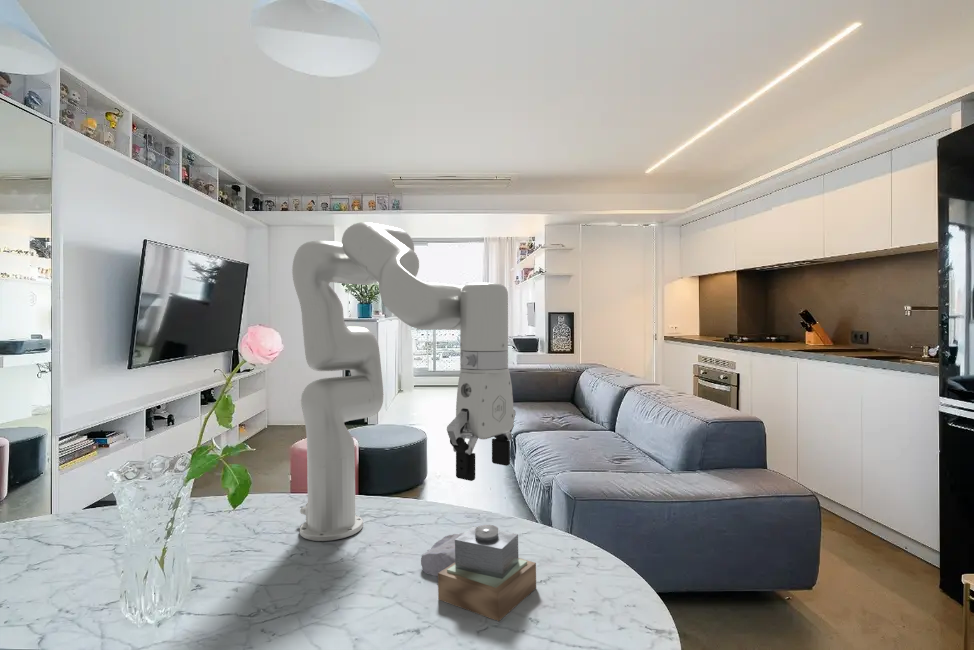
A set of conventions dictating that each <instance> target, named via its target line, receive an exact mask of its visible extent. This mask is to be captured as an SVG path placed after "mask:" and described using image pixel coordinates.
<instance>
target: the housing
mask: <svg viewBox="0 0 974 650" xmlns="http://www.w3.org/2000/svg"><path fill="white" fill-rule="evenodd" d="M462 533H463V534H462V535H461V536H459V537H458V538H457V539H455V568H456V569H461V570H465V571H469V572H474V573H478V574H482V575H487V576H491V577H496V578H500V579H503V578H504V577H505V576H506V575H507V574H508V573H509V572H510V571H511V570H512V568H513V567H514V566H515V565H516V564H517V563H518V562H519V561H518V558H519V534H518V533H514V532H508V531H502V530H499V527H498V526H496V525H492V524H482V525H481V524H480V525H479V526H475V525H473V526H472V527H470V528H469V529H467V530H466V531H465V532H462Z"/></svg>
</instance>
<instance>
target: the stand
mask: <svg viewBox="0 0 974 650" xmlns="http://www.w3.org/2000/svg"><path fill="white" fill-rule="evenodd" d="M518 561H519V562H518V563H517V564H516V565H515V566H514V567H513V568H512V570H511V571H510V572H509V573H508V574H507V575H506V576H505V577H504V578H503V579H500V578H496V577H491V576H487V575H482V574H478V573H474V572H469V571H465V570H461V569H456V568H455V563H453V564H452V565H450V566H448V567H447V568H445V569H444V570H442V571H440V572H439V573H438V576H437V596H438V600H439V601H442V602H445V603H448V604H449V605H450V604H451V605H453V606H455V607H459V608H461V609H464V610H466V611H469V612H472V613H475V614H477V615H480V616H483V617H486V618H489V619H491V620H494V621H496V620H497V621H496V622H501V620H502V619H503V618H504V617H506V616H507V615H508V614H510V612H511V611H512V610H514V608H516V607H517V606H518V605H519V604H520V603H521V602H523V600H525V599H526V598H527V597H528V596H530V594H531V593H533V592H534V591H535V590H536V589H537V563H536V561H535V562H534V561H532V560H528V559H524V558H520V557H518Z"/></svg>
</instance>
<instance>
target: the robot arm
mask: <svg viewBox="0 0 974 650" xmlns="http://www.w3.org/2000/svg"><path fill="white" fill-rule="evenodd" d="M291 270H292V271H291V273H292V281H293V284H294V290H295V292H296V295H297V298H298V302H299V305H300V306H299V307H300V310H301V311H300V312H301V322H302V324H301V325H302V333H303V335H302V336H303V346H304V354H305V360H306V363H307V365H308V367H309V368H310V369H311V370H313V371H316V372H335V371H336V372H337V371H350V375H348V376H333V377H324V378H319V379H317V380H316V379H315V380H314V381H312V382H310V383H308V384H307V385H306V386H305V387H304V389H303V391H302V394H301V398H300V399H301V400H300V401H301V402H300V404H301V405H300V406H301V410H302V414H303V415H302V416H303V419H304V426H305V433H306V434H305V435H306V458H307V460H306V462H307V463H306V465H307V475H306V476H307V478H306V480H307V481H306V482H307V502H306V504H305V506H304V507H300V510H299V513H300V514H302V515H304V516H305V522H303V523H302V524H301V526H300V527H299V535H300V536H301V537H302V538H304V539H305V540H308V541H309V540H310V541H313V542H315V541H316V542H328V541H337V540H341V539H345V538H348V537H351V536H353V535H356V534H357V533H358V532H360V531H361V530H362V529H363V528H364V520H363V518H362V517H361V516H359V515H356V459H355V457H356V454H355V450H356V449H355V440H354V438H353V436H352V434H351V432H350V431H349V430H348V428H347V427H346V425H345V423H346V422H349V421H355V420H356V421H357V420H362V419H367V418H371V417H373V416H375V415H376V414H378V413H379V412H380V410H381V409H382V406H383V404H384V384H383V373H382V364H381V352H380V346H379V343H378V341H377V338H376V336H375V335H374V333H373V332H372V331H371V330H369V328H366V327H363V326H347V325H346V323H345V317H344V307H343V304H342V301H341V299H340V298H339V296H338V294H337V292H336V291H335V290H334V289H333V288H332V286H330V283H337V284H348V285H357V286H358V285H364V286H365V285H370V284H373V283H377V282H378V292H379V295H380V298H381V301H382V303H383V305H384V306H385V307H386V308H387V310H388V311H390V312H391V313H392V314H393V316H395V317H396V318H398V319H399V320H400V321H402V322H403V323H404V324H406V325H408V326H409V327H411V328H414V329H417V330H422V331H423V330H424V331H425V330H426V331H431V330H432V331H433V330H434V331H435V330H437V331H438V330H445V331H446V330H447V331H448V330H449V331H451V330H454V331H455V330H459V331H460V332H459V333H460V335H459V337H460V339H459V340H460V341H459V343H460V347H459V350H460V351H459V353H460V354H459V356H460V357H459V359H460V363H459V364H460V365H459V367H460V370H459V371H460V372H459V376H458V377H459V378H458V383H457V392H456V405H455V417H454V418H453V420H452V421H451V422H450V423H448V425H447V427H446V431H447V432H446V433H447V435H448V438H449V444H450V445H451V446H452V447H453V448H452V451H453V452H454V453H455V477H456V478H457V479H460V480H464V481H465V480H466V481H469V482H473V481H474V480H475V479H476V453H474V452H473V451H474V449H475V447H476V444H477V442H478V439H479V440H488V439H491V462H492V463H493V464H495V465H501V466H505V467H507V466H509V465H510V464H511V440H512V437H513V434H512V432H513V429H514V426H515V423H514V422H515V418H516V414H517V413H516V412H517V411H516V410H515V409H514V398H513V385H512V379H511V374H510V370H509V292H508V289H507V287H506V286H505V285H504V284H501V283H497V282H495V283H494V282H471V283H468V284H465V285H459V284H458V285H457V284H449V283H441V282H440V283H438V282H426V281H423V280H421V279H419V278H418V277H417V276H418V272H419V270H420V259H419V257H418V255H417V253H416V252H415V245H414V241H413V239H412V237H411V235H409V233H408V232H407V231H405V230H403V229H401V228H398V227H394V226H391V225H390V226H389V225H385V224H379V223H373V222H368V221H363V222H357V223H353V224H351V225H350V226H349V227H347V228H346V229H345V230H344V232H343V234H342V236H341V242H340V241H332V240H320V239H318V240H310V241H306V242H304V243H303V244H301V245H300V246H299V247H298V248H297V250H296V252H295V254H294V257H293V260H292V269H291ZM466 439H468V442H466Z"/></svg>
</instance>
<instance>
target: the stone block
mask: <svg viewBox="0 0 974 650" xmlns="http://www.w3.org/2000/svg"><path fill="white" fill-rule="evenodd" d="M463 533H464V532H461V533H453V534H448V535H445V536H443V537H442V538H441V539H439V540H438V541H436V542H435V543H434V544H433V545H432V546H431V547H430V549H428V550H427V551H426V552H424V553H423V554H422V555H421V556H420V557H421V558H420V565H421V569H422V570H423V573H425V574H428V575H430V576H433V577H438V573H439V572H440V571H442V570H444V569H445V568H447V567H448V566H450V565H452V564H453V563H455V539H457V538H458V537H459V536H461V535H462V534H463Z"/></svg>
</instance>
